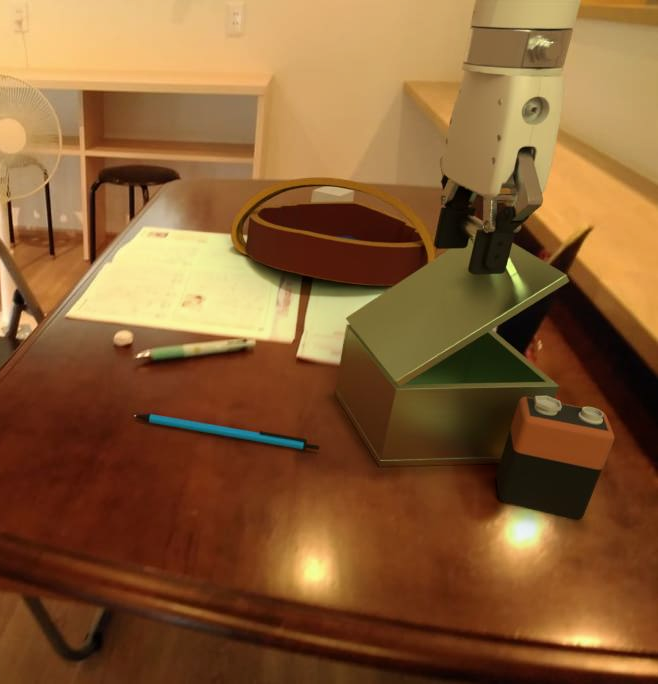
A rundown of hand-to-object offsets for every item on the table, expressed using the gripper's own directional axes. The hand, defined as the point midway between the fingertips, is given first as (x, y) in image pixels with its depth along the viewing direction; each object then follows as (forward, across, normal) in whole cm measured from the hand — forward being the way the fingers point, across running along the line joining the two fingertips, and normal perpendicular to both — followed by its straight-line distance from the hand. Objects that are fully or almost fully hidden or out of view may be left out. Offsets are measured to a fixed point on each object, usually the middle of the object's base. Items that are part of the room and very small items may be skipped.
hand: (467, 258), depth 64 cm
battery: (+19, -12, -5) cm, 23 cm away
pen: (+18, -1, +22) cm, 29 cm away
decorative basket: (+19, +47, -4) cm, 51 cm away
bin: (+19, 0, 0) cm, 19 cm away
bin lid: (+5, 0, +1) cm, 5 cm away
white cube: (+19, +74, -12) cm, 78 cm away
